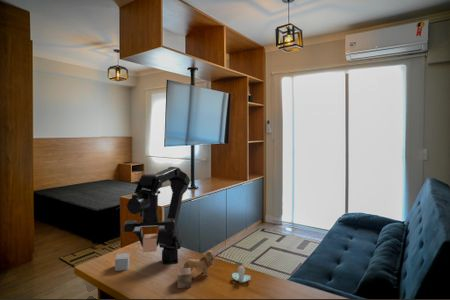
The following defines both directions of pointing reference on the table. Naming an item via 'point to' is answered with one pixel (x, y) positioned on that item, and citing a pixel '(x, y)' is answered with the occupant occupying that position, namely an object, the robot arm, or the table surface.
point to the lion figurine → (201, 262)
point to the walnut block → (184, 277)
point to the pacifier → (241, 275)
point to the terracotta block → (149, 242)
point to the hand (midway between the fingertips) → (150, 246)
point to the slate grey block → (122, 262)
